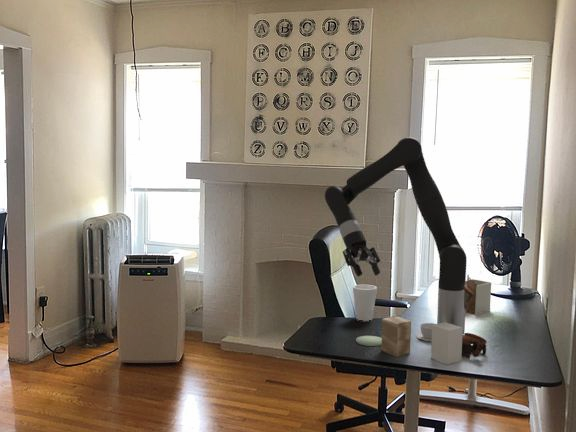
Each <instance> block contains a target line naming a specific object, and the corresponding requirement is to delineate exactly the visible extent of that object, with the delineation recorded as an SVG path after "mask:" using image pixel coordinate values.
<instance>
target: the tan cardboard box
mask: <svg viewBox="0 0 576 432" xmlns="http://www.w3.org/2000/svg"><path fill="white" fill-rule="evenodd" d="M411 330H412V320H409V319H406V318H403V317H400V316H396V315H395V316H390V317H383V318H382V319H381V338H382V345H381V351H382V352H384V353H385V354H388V355H392V356H393V357H400V356H404V355H408V354H409V355H410V354H411V338H412V337H411V336H412V335H411V334H412V333H411V332H412V331H411Z"/></svg>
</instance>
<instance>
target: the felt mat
mask: <svg viewBox="0 0 576 432" xmlns="http://www.w3.org/2000/svg"><path fill="white" fill-rule="evenodd" d="M355 342H356V343H357V344H358V345H361V346H367V347H378V346H382V337H380V336H375V335H361V336H358V337H356V339H355Z"/></svg>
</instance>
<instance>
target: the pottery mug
mask: <svg viewBox="0 0 576 432" xmlns="http://www.w3.org/2000/svg"><path fill="white" fill-rule="evenodd" d="M487 343H488V342H487V340H486V339H485V338H484V337H482V336H479V335H477V334H474V333H469V332H464V334H463V335H462V355H461V357H463V358H466V359H469V360H470V358H471V355H472V356H473V357H474V358H478V357H480V354H481V353H482V355H486V354H487Z"/></svg>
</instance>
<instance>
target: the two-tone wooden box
mask: <svg viewBox="0 0 576 432" xmlns="http://www.w3.org/2000/svg"><path fill="white" fill-rule="evenodd" d="M466 277H467V279H466V280H465V289H464V309H465V314H470V315H475V316H477V315H481V314H484V313H487V312H489V311H491V294H492V282H491V281H485V280H479V279H475V278H473V279H471V278H470V276H469V274H466Z"/></svg>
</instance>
